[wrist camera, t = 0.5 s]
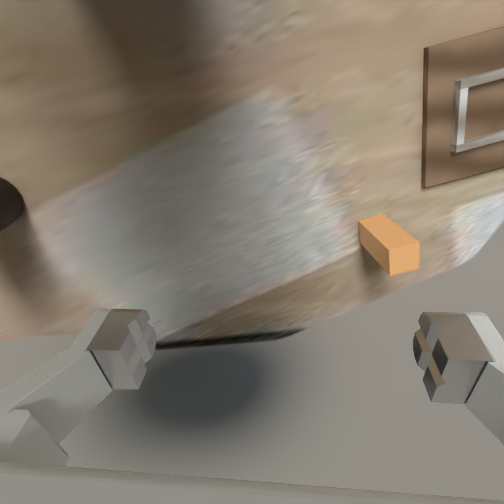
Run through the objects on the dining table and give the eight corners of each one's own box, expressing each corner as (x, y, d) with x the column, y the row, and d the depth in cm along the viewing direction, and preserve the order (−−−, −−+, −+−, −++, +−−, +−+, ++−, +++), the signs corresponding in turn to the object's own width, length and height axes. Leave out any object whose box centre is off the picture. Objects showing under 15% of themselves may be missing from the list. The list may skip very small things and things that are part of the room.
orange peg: (358, 220, 51) (389, 250, 42) (383, 213, 50) (419, 242, 42) (360, 242, 52) (389, 275, 44) (384, 236, 52) (419, 268, 44)
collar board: (424, 48, 40) (434, 46, 38) (551, 13, 40) (568, 10, 38) (421, 185, 49) (430, 190, 47) (526, 158, 49) (539, 161, 47)
